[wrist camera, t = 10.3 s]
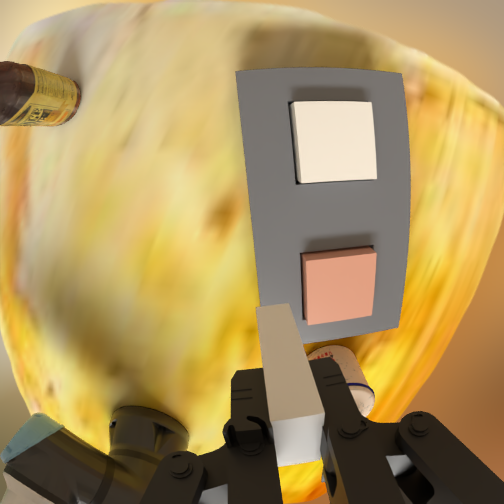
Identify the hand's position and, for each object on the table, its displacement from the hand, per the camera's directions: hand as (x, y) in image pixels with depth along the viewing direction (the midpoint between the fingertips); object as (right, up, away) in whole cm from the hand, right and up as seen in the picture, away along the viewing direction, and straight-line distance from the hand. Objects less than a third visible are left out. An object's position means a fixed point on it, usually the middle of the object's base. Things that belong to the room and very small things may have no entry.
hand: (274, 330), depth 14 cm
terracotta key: (+8, +1, +18) cm, 20 cm away
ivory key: (+6, +14, +13) cm, 21 cm away
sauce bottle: (-24, +22, +14) cm, 35 cm away
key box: (+7, +9, +19) cm, 22 cm away
